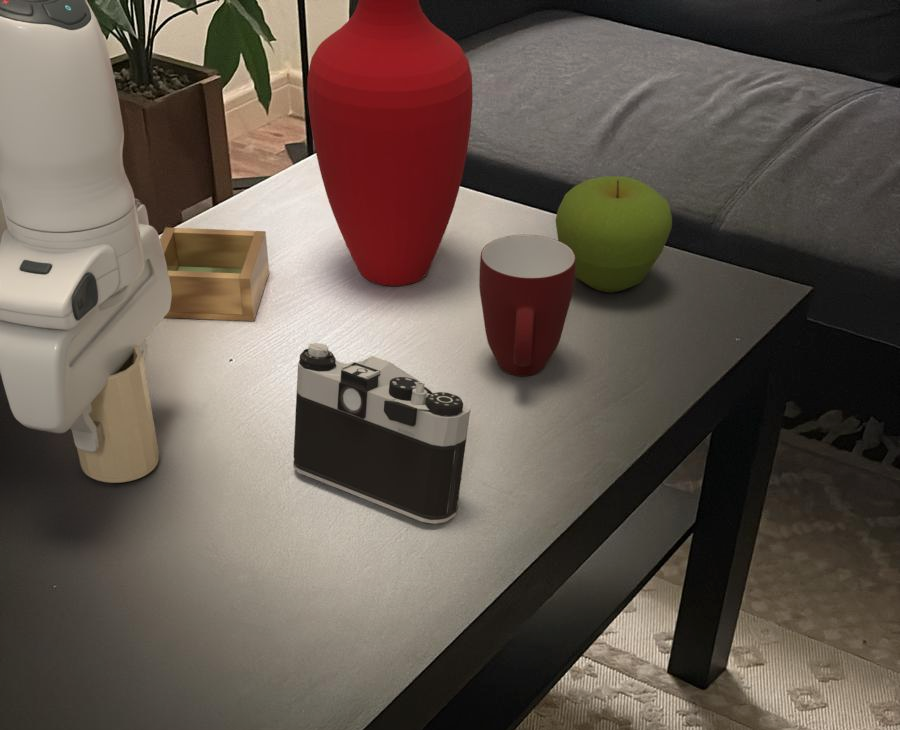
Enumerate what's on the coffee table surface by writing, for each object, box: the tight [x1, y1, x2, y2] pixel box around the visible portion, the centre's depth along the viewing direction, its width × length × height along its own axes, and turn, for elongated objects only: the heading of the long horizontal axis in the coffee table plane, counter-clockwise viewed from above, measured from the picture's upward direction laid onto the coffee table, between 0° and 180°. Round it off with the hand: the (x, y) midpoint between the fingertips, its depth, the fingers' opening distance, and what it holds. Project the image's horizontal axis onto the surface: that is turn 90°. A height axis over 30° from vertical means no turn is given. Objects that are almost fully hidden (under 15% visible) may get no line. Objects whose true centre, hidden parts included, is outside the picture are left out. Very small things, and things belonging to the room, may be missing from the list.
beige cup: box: [75, 346, 160, 484], centre depth 100 cm, size 6×6×9 cm
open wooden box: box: [159, 227, 270, 322], centre depth 121 cm, size 10×10×4 cm
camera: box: [292, 342, 471, 525], centre depth 100 cm, size 15×11×10 cm
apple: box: [555, 175, 673, 294], centre depth 121 cm, size 11×10×10 cm
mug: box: [478, 234, 576, 377], centre depth 110 cm, size 11×8×10 cm
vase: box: [306, 0, 473, 287], centre depth 115 cm, size 15×15×30 cm
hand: (111, 420), depth 100 cm, fingers closed on beige cup, 6 cm apart
